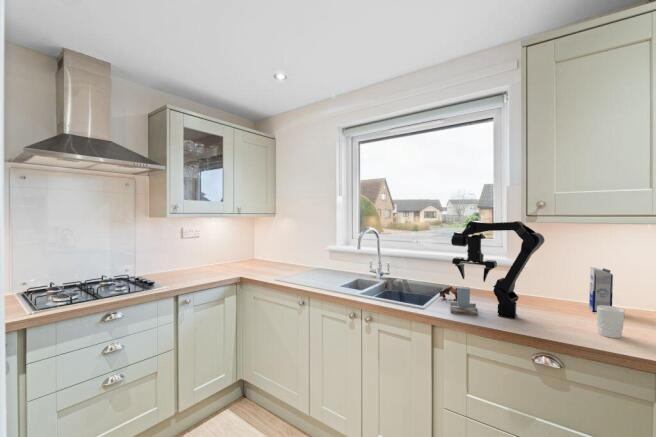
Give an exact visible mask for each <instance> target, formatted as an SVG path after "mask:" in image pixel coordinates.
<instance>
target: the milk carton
mask: <svg viewBox="0 0 656 437" xmlns="http://www.w3.org/2000/svg"><path fill="white" fill-rule="evenodd" d="M589 268H590V270H589V271H590V272H589V306H588V309H589V308H590V309H591V310H592V311H591V310H590V309H589V310H590V311H591V312H592V313H593V312H597V306H599V305H604V306H612V307H613V294H614V293H613V289H614V287H613V286H614V274H612V273H611V270H610V269H607V268H605V267H603V268H602V269H600V268H597V267H592V266H590V267H589Z"/></svg>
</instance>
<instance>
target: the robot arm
mask: <svg viewBox="0 0 656 437" xmlns="http://www.w3.org/2000/svg"><path fill="white" fill-rule="evenodd" d="M492 231H496V232H497V231H499V232H501V231H504V232H505V231H514V232H515V234H516V235H517V236H518V238H520V239H521V240H522V242H521V245H520V251H519V253H518V255H517V257H516V258H515V260H514V261H513V263H512V265H511V266H510V268H509V269H508V271H507V273H506V274H505V276H504V277H501V278H498V279H497V280H496V283H495V284H494V285H493V286H492V287H493V294H494V295H495V297H496V300H497V302H498V303H497V316H498V317H504V318H509V319H514V320H515V319H516V318H517V316H518V313H517V301H518V300H519V295H518V294H517V293H516V292H515V291H514V290H515V287H516V281H517V280H518V278H519V277H520V275H521V273H522V272H523V269H524V268H525V267H526V265H527V264H528V262H529V260H530V258H531V257H532V255H533V254H535V253H536V252H537V251H538V250H539V249H540V248H541V246H542V245H543V244H544V243H545V238H544V236H543V235H542V234H541V233H539V232H537V231H535V230H533V229H532V228H530V226H527V225H526V224H524V223H523V222H522V221H520V220H518V221H517V220H516V221H509V222H508V221H506V222H505V221H504V222H487V221H480V220H479V221H478V220H476V221H475V220H474V221H473V220H472V221H469V222H467V224H466V226H465V228H464V230H463V231H462V232H459V231H454V232H453V235H452V236H451V240H450V242H451V245H452V246H455V247H464V248H465V247H467V249H466V252H467V259H465V257H463V256H462V257H461V256H456V257H453V258H452V260H451V264H453V265H454V266H455V267H457V269H458V271H459V273H460V275H461V278H462V280H465V264H466V265H468V264H469V265H477V266H478V265H479V266H485V267H483V278H482V280H483V283H485V282H486V280H487V277H488V275H489V273H490V272H491V270H493V269H496V268H497V267H498V262H497V261H496V260H493V259H487V260H484V255H485V254H483V252H482V240H484V239H486V238H487V237H486V236H485V235H484V234H483V233H486V232H492Z"/></svg>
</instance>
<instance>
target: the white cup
mask: <svg viewBox="0 0 656 437" xmlns="http://www.w3.org/2000/svg"><path fill="white" fill-rule="evenodd" d="M625 314H626V313H625V310H624V309H623V308H621V307H617V306H613V305H612V306H604V305H599V306H597V313H596V321H597V322H596V325H597V333H598V334H599V335H601V336H604V337H606V338H610V339H611V338H612V339H621V338H622V337H623V329H624V324H625V323H624V321H625Z"/></svg>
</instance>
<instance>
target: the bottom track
mask: <svg viewBox="0 0 656 437" xmlns="http://www.w3.org/2000/svg"><path fill="white" fill-rule="evenodd" d="M449 302H450V304H449V308H450V310H449V311H450V313H451V314H456V315H457V314H458V315H466V316H467V315H468V316H469V315H470V316H478V307H477V304H476V303H474V302H470V307H459V306H457V302H454V300H453V301H449Z"/></svg>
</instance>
